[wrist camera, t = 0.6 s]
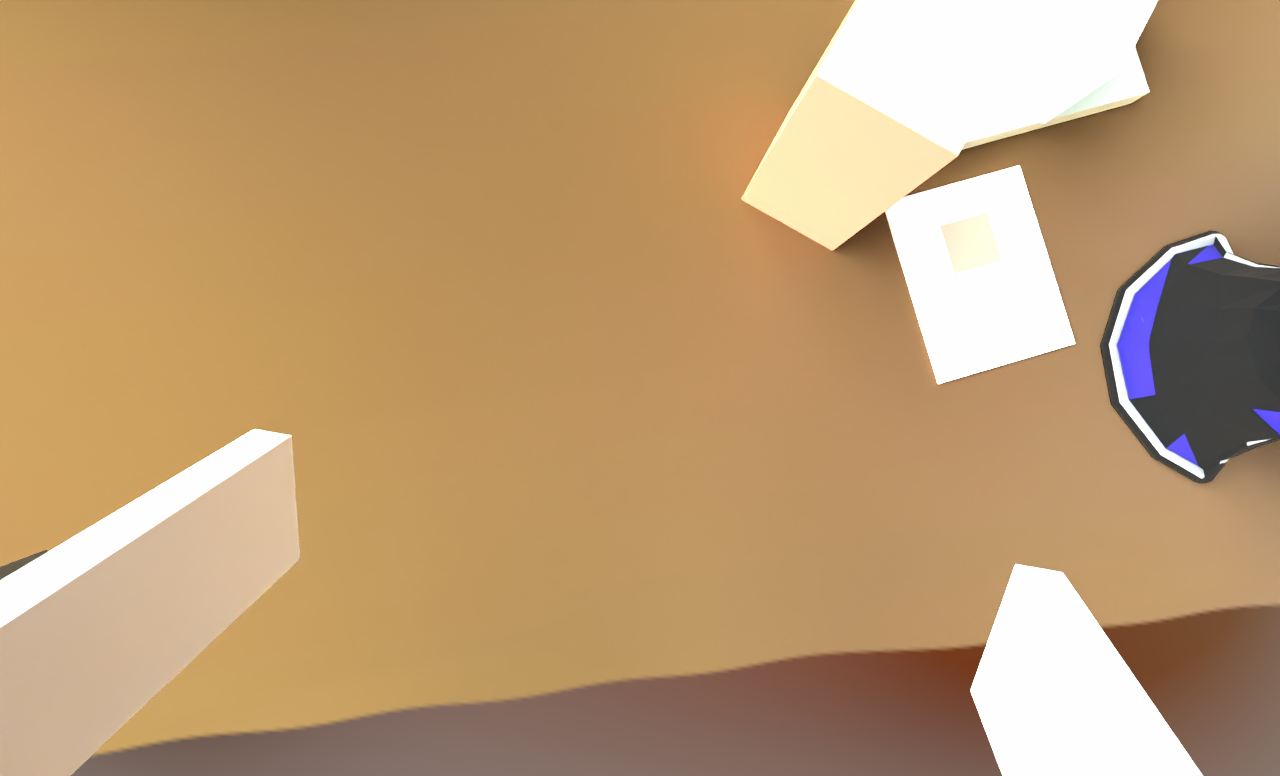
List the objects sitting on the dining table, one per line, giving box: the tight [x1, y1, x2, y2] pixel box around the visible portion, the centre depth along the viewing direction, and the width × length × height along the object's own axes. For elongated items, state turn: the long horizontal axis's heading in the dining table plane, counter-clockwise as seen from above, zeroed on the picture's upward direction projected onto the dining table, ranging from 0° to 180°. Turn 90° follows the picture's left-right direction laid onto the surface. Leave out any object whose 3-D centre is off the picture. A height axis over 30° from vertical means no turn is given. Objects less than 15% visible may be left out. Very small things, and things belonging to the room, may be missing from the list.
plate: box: [962, 46, 1150, 150], centre depth 34 cm, size 11×11×1 cm
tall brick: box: [741, 0, 1030, 251], centre depth 28 cm, size 5×5×12 cm
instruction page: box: [885, 165, 1076, 384], centre depth 34 cm, size 9×7×1 cm
